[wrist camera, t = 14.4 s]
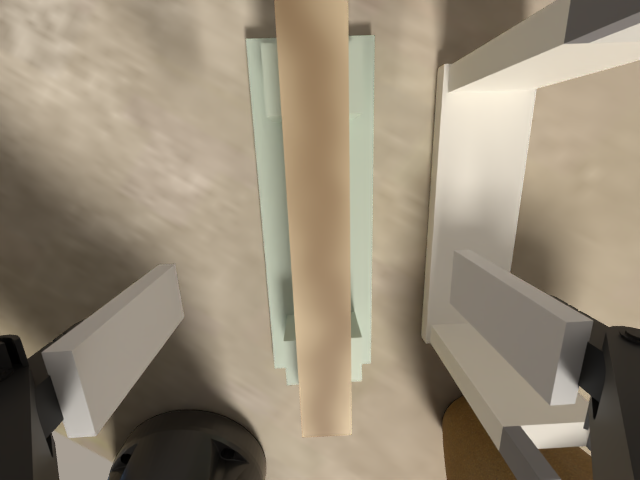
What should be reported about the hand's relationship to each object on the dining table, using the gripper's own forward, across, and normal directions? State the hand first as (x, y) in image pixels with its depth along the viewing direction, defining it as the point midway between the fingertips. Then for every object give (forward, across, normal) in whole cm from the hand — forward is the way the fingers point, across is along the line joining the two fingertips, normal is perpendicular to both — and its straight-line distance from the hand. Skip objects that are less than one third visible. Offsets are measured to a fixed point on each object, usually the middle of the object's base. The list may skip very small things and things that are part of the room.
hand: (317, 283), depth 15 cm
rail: (+7, 0, 0) cm, 7 cm away
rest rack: (+12, 0, 0) cm, 12 cm away
